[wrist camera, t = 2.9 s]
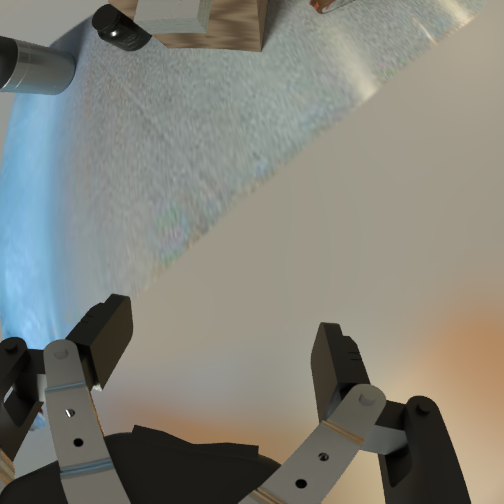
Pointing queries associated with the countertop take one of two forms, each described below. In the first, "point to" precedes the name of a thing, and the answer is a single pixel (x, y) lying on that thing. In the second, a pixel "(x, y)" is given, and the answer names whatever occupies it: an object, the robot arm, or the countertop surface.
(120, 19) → the supplement bottle
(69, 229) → the countertop surface
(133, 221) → the countertop surface
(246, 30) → the walnut stand
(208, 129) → the countertop surface
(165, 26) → the steel bar
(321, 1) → the tin
